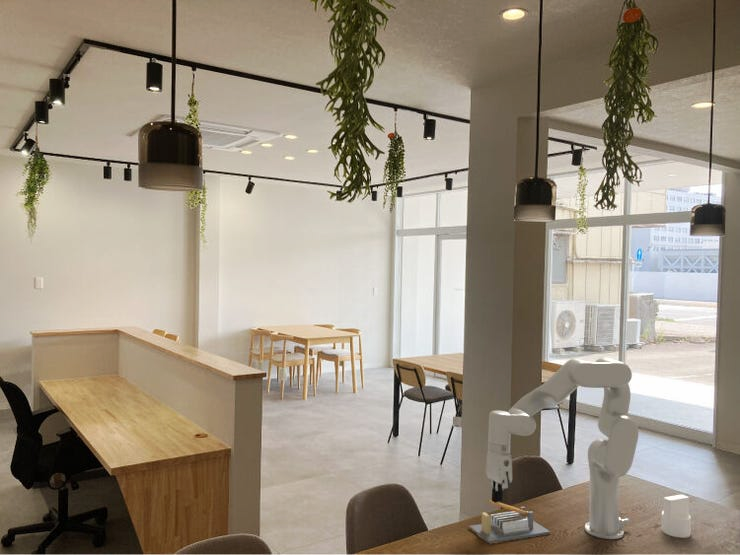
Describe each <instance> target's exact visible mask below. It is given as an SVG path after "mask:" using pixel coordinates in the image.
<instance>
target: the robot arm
mask: <svg viewBox="0 0 740 555" xmlns="http://www.w3.org/2000/svg"><path fill="white" fill-rule="evenodd" d="M632 376H633V373H632V370H631V368H630V366H629V365H628V364H626V362H623V361H620V360H616V359H613V358H611V357H600V358H598V359H596V360H595V361H593V362H592V361H586V360H583V359H580V358H571V359H569V360H567V361H566V362H565V363H564V364H563V365H561V367H559V369H558V370H557V371H556V372H555V373H553V374H552V376H550V377H549V378H548V379H547V380H546V381H545V382H543V384H541V385H540V386H538V387H536V388H535V389H533V390H532V391H530V392H528V393H526V394H525V395H523V396H522V397H521V398H520V399H519V400H518V401H517V402H515V404H514V405H512V406H511V407H510V408H509V410H508V411H505V410H492V411H490V413H489V414H488V432H487V433H488V434H487V436H488V437H487V453H486V459H485V460H486V462H485V475H486V476H487V479H488V480H489V481H490V486H491V500H492V501H494V502H500V503H503V495H504V493H503V492H504V490H505V489H508V488H509V485H508V484H512V482H513V462H512V461H513V460H512V455H511V436H512V435H515V436H523V437H526V436H528V437H529V436H530V435H532V434H534V432H535V431H536V428H537V423H536V419H535V418H534V417H533V416H534V415H535V414H537V413H538V412H540V411H541V410H543V409H546V408H547V407H548V408H549V407H554V406H558V405H560V404H562V403H563V402H564V401H565V400H566V399H567V398H568V397H569V396H570V395H571V394H572V393H573V392H574V391H575V390H577V389H578V388H579V387H581V388H589V389H591V388H592V389H596V388H597V389H603V400H602V404H601V409H600V413H599V416H598V417H599V418H598V421H597V427H598V430H599V432H600V433H601V434H602V435H604V436H605V437H607V439H604V438H598V439H595V440H593V441H592V442H591V443H590V444H589V447H588V450H587V462H588V468H589V469H588V470H589V520H588V521H589V522H586V523H585V525H584V530H585V532H586V533H587V534H589V535H591V536H593V537H596V538H599V539H604V540H617V539H618V540H619V539H621V538H623V537H624V536H625V532H624V529H623V528H622V527H623V526H628V525H630V524H631V520H630V519H629V518H622V517H620V478H621V477H623V476H625V475H626V474H628V473H629V471H630V470H631V468H632V465H633V462H634V458H635V453H636V449H637V445H638V440H639V427H638V425H637V422H636V421H635V420H634V419H633V418H632V417H630V416H629V409H630V405H631V404H630V403H631V388H630V385H629V383H630V382H631V380H632V378H633V377H632Z"/></svg>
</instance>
